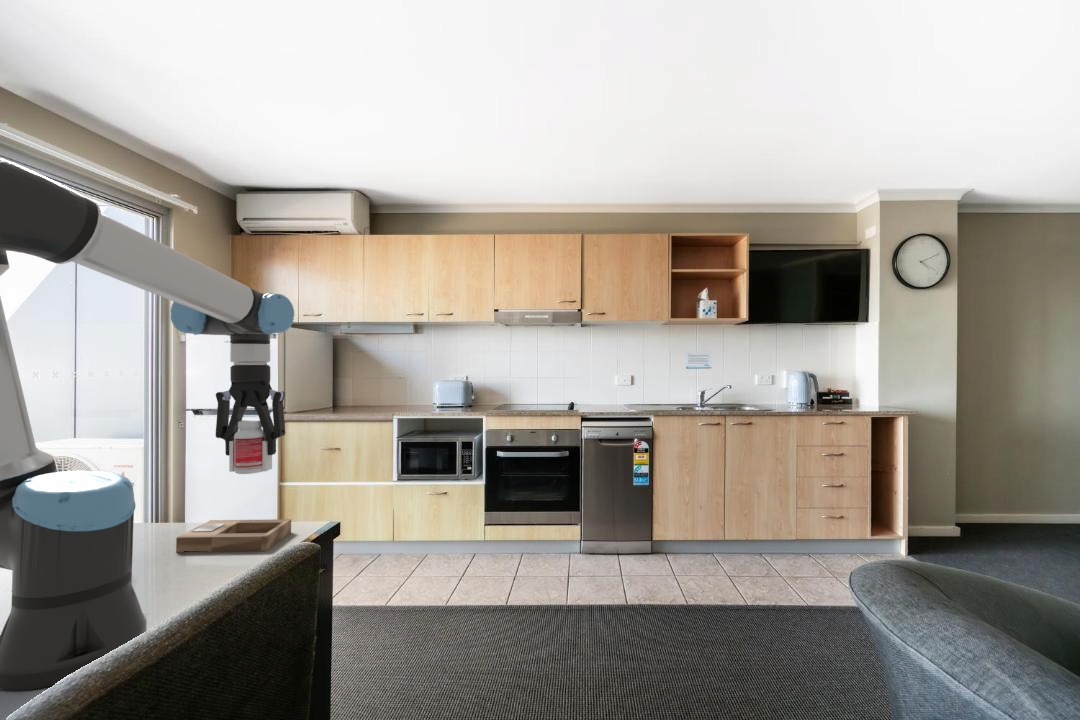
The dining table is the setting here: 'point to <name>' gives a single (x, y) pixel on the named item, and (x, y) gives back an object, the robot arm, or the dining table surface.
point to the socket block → (234, 535)
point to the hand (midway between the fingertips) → (251, 469)
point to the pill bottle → (248, 447)
